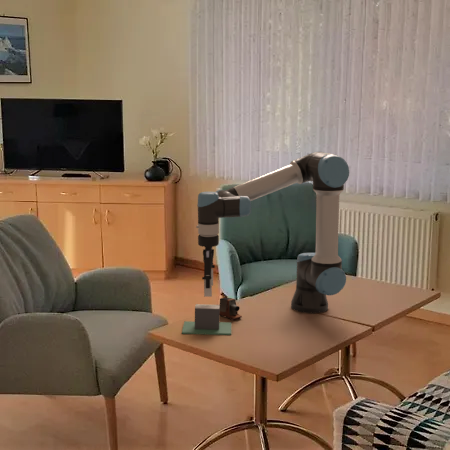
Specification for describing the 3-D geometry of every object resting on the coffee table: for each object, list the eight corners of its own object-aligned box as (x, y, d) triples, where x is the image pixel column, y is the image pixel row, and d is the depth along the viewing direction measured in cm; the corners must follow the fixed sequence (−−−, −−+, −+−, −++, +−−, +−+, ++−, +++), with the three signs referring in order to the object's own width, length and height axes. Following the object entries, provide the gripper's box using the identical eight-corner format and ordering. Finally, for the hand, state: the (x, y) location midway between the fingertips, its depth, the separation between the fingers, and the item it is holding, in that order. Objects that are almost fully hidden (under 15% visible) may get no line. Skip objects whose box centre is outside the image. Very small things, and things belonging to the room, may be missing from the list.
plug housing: (219, 325, 256) (219, 304, 255) (218, 329, 251) (219, 308, 250) (195, 324, 256) (195, 304, 255) (194, 328, 251) (194, 308, 250)
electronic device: (233, 321, 263) (234, 302, 261) (217, 315, 270) (217, 297, 268) (242, 319, 265) (242, 300, 264) (225, 313, 273) (226, 295, 271)
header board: (231, 323, 260) (231, 313, 259) (231, 335, 248) (231, 324, 247) (184, 322, 260) (184, 312, 259) (181, 333, 248) (181, 323, 247)
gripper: (199, 227, 259) (200, 281, 263) (195, 242, 235) (196, 301, 239) (219, 227, 259) (219, 281, 263) (217, 242, 235) (217, 301, 239)
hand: (208, 290), depth 251 cm, fingers open, 13 cm apart
